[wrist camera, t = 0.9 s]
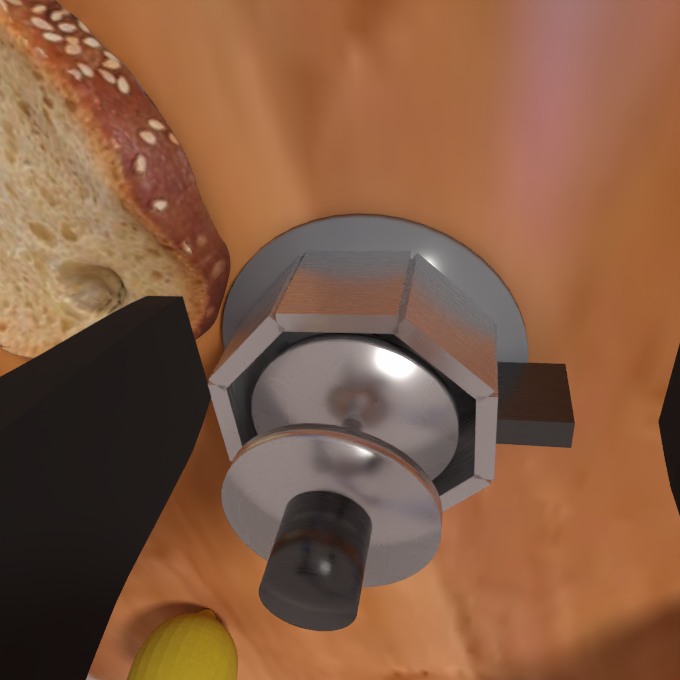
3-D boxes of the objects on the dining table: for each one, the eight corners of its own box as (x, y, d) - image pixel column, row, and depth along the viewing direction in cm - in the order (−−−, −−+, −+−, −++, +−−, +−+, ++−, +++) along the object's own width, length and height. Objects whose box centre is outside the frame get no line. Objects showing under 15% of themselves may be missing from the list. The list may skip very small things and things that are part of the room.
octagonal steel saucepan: (551, 458, 23) (559, 541, 20) (273, 441, 26) (245, 512, 23) (576, 249, 18) (593, 318, 15) (228, 251, 21) (185, 312, 18)
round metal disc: (518, 468, 24) (518, 476, 24) (255, 451, 27) (253, 458, 27) (539, 209, 18) (540, 215, 18) (194, 217, 21) (190, 222, 20)
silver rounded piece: (458, 493, 21) (449, 691, 16) (274, 478, 22) (210, 656, 17) (459, 334, 17) (446, 526, 12) (237, 329, 19) (141, 499, 14)
